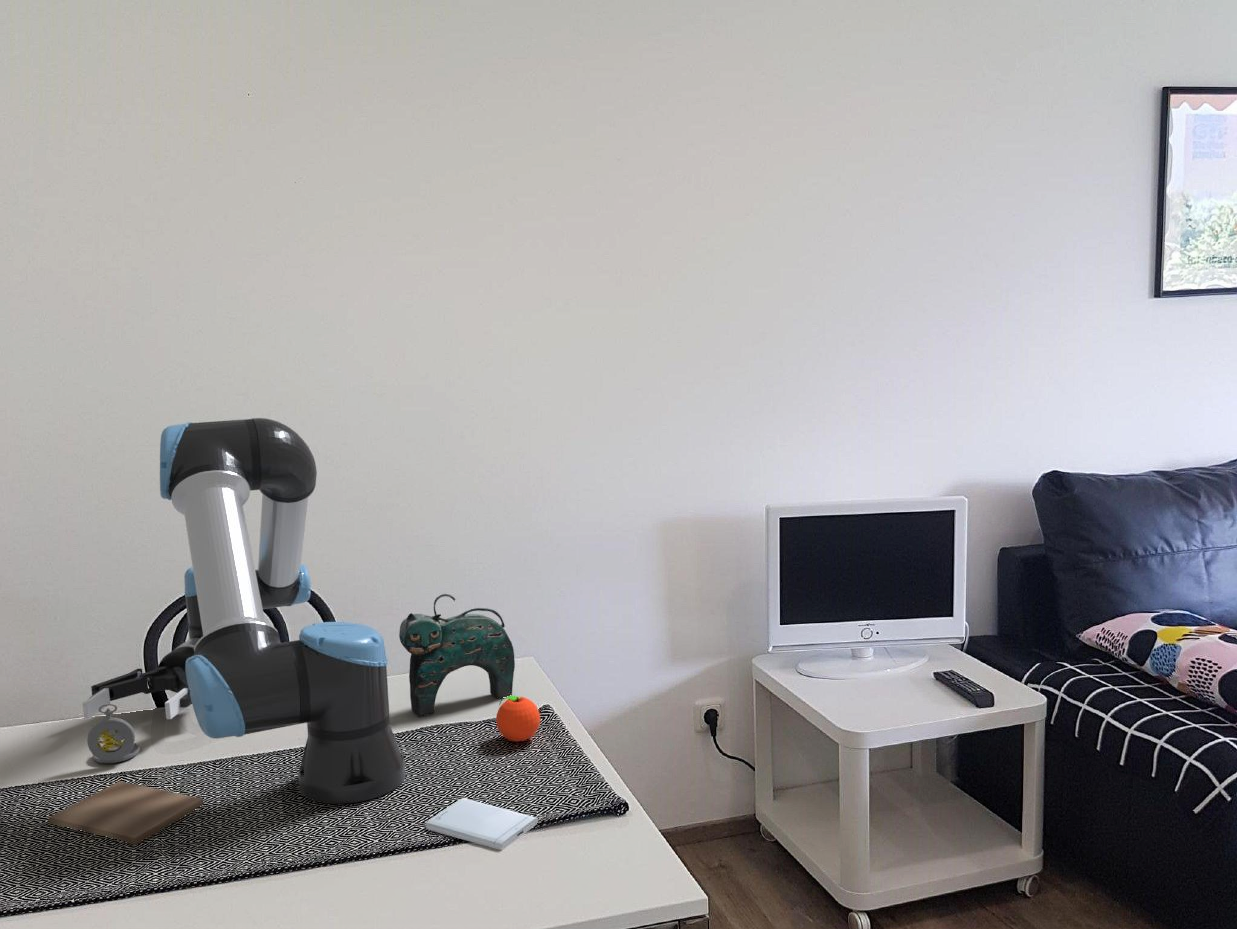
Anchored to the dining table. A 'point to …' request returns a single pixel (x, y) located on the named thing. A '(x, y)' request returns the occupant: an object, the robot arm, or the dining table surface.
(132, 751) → the pocket watch
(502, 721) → the clementine
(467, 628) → the ceramic cat
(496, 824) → the hard drive
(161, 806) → the walnut board
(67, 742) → the dining table surface
